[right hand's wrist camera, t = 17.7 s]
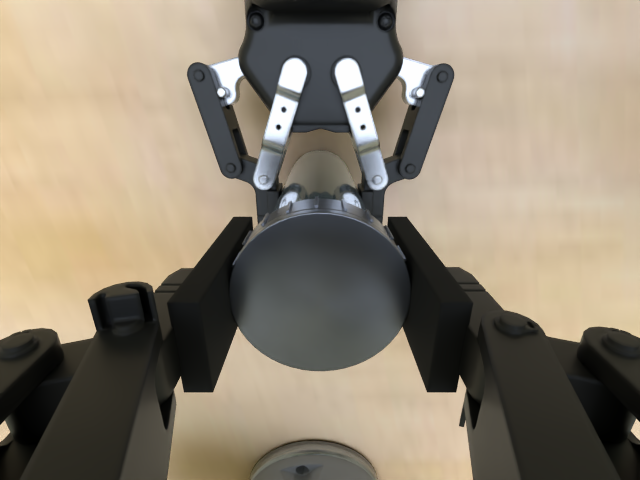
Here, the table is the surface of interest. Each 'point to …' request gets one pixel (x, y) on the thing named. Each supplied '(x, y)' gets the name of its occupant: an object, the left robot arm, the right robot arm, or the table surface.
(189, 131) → the table surface
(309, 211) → the grey domed jar lid
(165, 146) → the table surface
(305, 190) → the blue-grey cylinder
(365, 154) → the left robot arm
